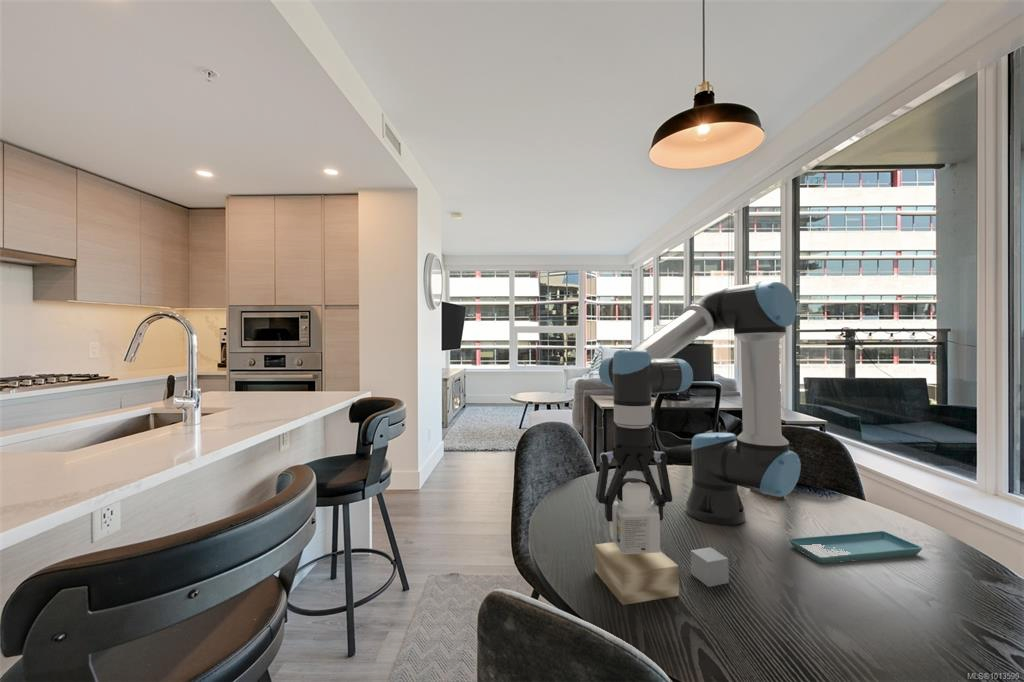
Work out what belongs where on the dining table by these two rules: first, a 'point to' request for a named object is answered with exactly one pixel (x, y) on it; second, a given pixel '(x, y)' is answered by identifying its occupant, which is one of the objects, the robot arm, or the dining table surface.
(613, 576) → the maple block
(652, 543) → the container
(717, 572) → the slate cube
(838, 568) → the dining table surface
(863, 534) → the teal serving tray
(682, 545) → the dining table surface
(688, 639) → the dining table surface
